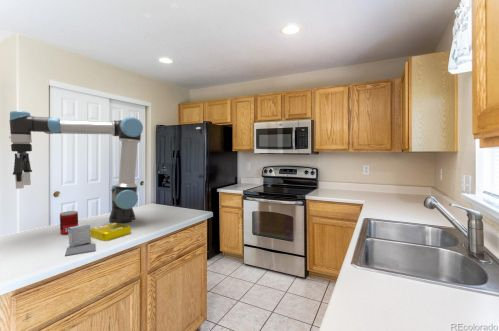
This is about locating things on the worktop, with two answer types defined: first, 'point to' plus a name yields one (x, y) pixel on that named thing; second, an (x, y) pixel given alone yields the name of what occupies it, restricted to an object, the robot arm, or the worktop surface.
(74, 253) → the mat
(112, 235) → the element tile
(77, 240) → the medicine box
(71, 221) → the canned food
